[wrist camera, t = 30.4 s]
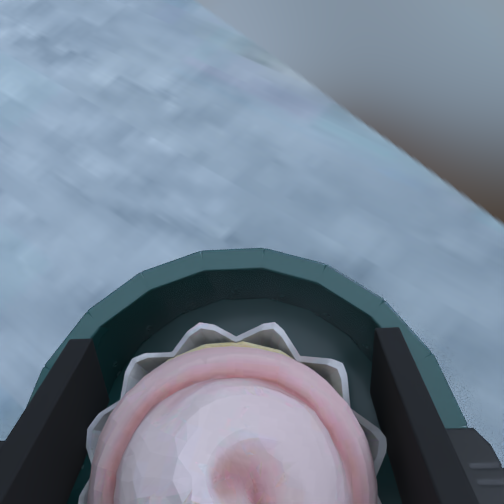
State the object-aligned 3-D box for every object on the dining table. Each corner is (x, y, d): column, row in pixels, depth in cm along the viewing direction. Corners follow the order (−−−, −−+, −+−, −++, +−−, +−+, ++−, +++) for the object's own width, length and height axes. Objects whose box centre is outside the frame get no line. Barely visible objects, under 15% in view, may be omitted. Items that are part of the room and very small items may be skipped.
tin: (63, 660, 17) (-33, 778, 12) (96, 290, 21) (36, 257, 16) (449, 660, 16) (529, 786, 11) (397, 278, 21) (436, 239, 16)
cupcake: (398, 562, 16) (573, 805, 6) (147, 625, 16) (-51, 969, 6) (326, 314, 19) (372, 231, 9) (115, 365, 19) (-54, 333, 9)
